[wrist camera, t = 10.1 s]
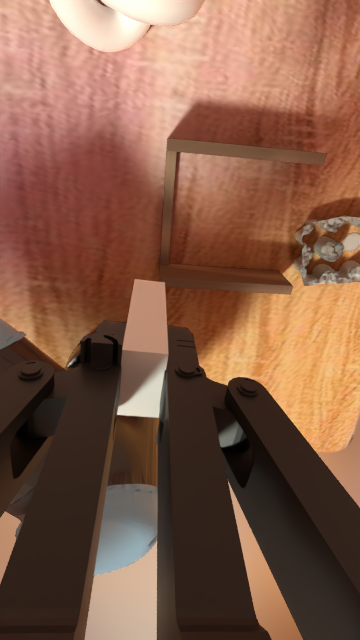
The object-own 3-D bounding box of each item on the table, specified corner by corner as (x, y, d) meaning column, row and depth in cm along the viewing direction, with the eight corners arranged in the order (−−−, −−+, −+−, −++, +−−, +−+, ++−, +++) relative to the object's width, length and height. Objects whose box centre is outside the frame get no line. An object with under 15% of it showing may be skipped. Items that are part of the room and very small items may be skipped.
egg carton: (387, 208, 38) (411, 215, 35) (373, 270, 42) (393, 282, 38) (295, 214, 38) (309, 222, 35) (289, 277, 42) (301, 289, 38)
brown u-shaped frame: (277, 278, 41) (290, 294, 37) (159, 270, 40) (159, 286, 36) (306, 152, 35) (326, 153, 31) (167, 138, 34) (167, 138, 29)
